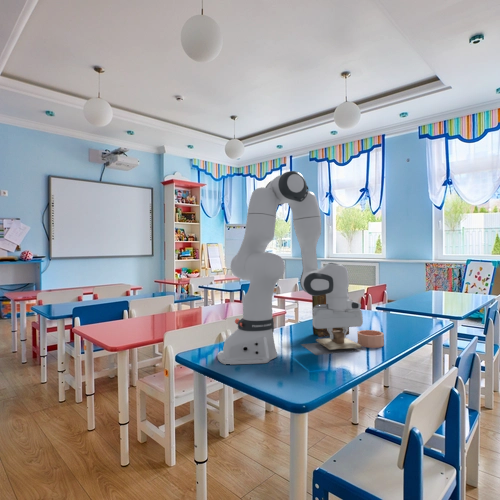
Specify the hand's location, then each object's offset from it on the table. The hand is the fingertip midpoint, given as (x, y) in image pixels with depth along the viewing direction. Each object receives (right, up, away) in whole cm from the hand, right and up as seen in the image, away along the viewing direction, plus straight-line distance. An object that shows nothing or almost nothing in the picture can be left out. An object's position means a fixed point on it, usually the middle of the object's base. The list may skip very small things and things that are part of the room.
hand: (337, 338), depth 137 cm
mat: (-3, -4, 0) cm, 5 cm away
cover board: (0, -2, 0) cm, 2 cm away
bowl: (+14, -4, +3) cm, 15 cm away
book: (+3, -4, +21) cm, 22 cm away
